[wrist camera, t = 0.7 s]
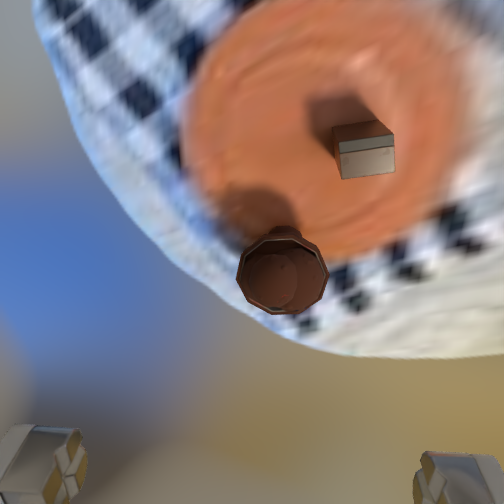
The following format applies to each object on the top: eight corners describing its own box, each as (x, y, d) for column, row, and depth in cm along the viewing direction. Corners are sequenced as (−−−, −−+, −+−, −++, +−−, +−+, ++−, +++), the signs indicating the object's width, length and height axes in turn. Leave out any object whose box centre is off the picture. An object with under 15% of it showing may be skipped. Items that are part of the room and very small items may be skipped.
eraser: (331, 126, 51) (338, 142, 43) (378, 119, 50) (393, 133, 42) (335, 159, 53) (341, 179, 45) (380, 152, 52) (395, 172, 44)
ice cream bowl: (239, 269, 61) (222, 332, 48) (255, 197, 56) (241, 245, 43) (311, 286, 61) (314, 353, 48) (333, 215, 56) (343, 268, 43)
